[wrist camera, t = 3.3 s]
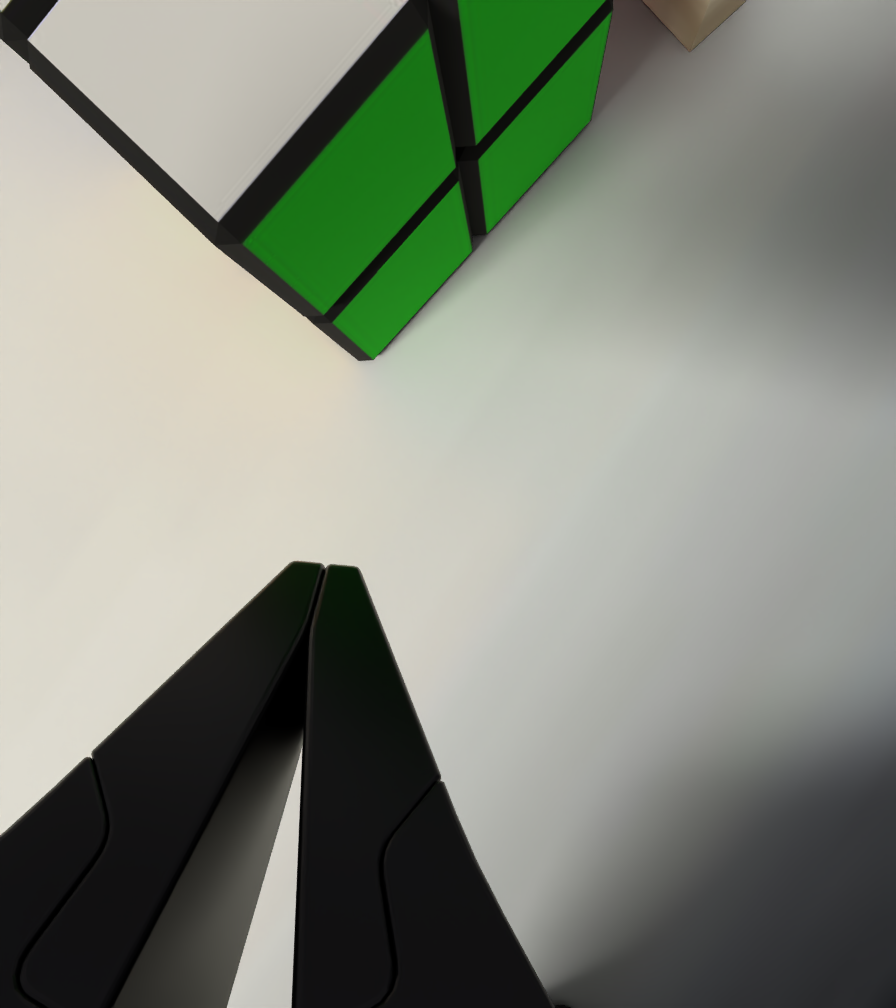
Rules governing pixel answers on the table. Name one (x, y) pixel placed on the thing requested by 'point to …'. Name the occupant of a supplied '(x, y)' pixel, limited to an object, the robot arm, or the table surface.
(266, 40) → the puzzle cube
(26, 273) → the table surface
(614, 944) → the table surface
